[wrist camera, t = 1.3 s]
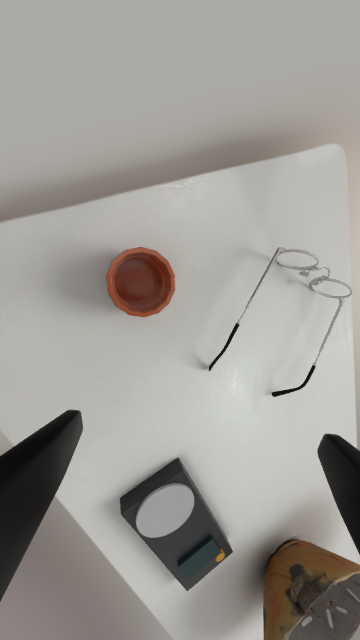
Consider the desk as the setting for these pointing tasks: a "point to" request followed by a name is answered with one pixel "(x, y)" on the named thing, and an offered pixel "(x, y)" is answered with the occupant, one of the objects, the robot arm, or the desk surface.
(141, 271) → the terracotta cup
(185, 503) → the scale
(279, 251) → the eyeglasses
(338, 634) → the bowl
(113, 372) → the desk surface
